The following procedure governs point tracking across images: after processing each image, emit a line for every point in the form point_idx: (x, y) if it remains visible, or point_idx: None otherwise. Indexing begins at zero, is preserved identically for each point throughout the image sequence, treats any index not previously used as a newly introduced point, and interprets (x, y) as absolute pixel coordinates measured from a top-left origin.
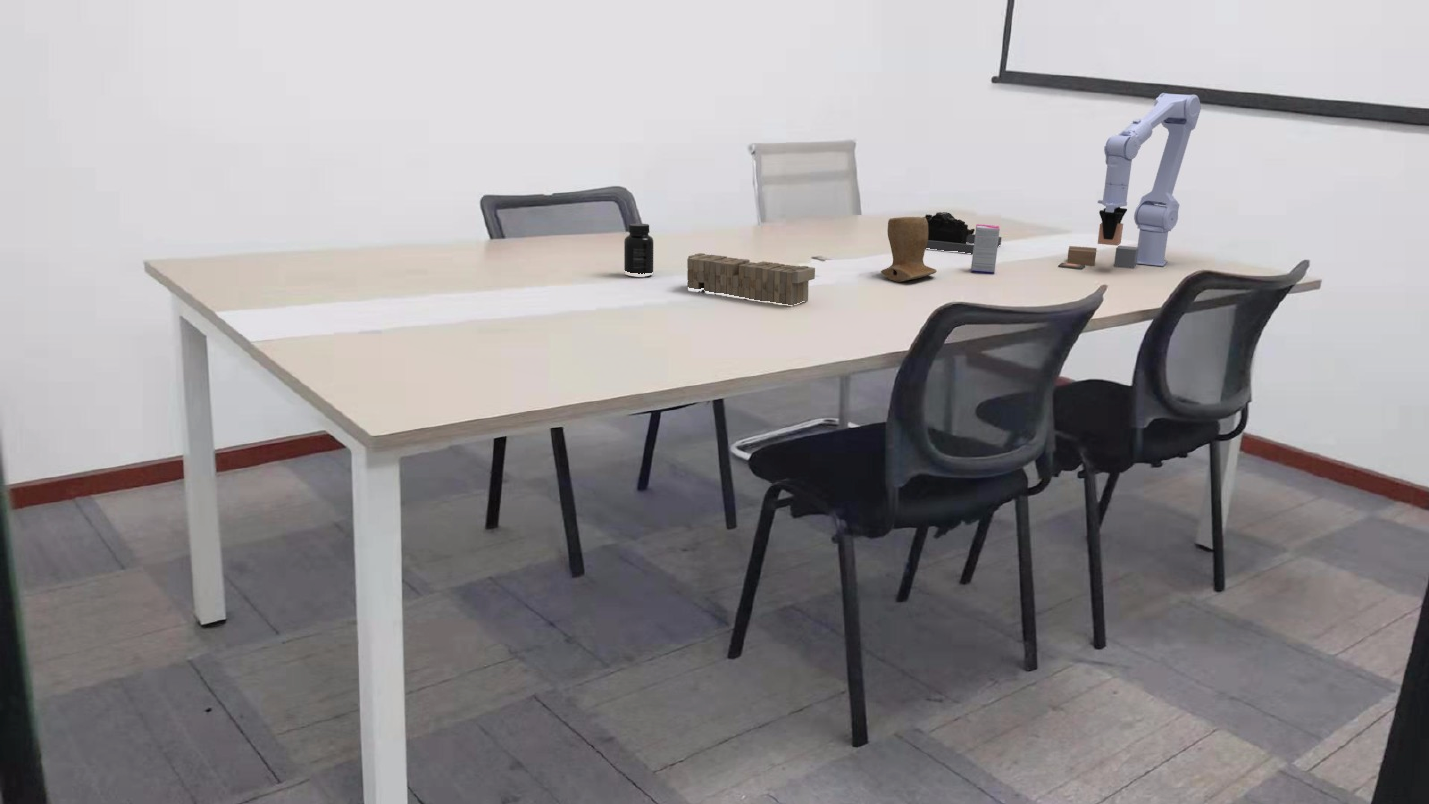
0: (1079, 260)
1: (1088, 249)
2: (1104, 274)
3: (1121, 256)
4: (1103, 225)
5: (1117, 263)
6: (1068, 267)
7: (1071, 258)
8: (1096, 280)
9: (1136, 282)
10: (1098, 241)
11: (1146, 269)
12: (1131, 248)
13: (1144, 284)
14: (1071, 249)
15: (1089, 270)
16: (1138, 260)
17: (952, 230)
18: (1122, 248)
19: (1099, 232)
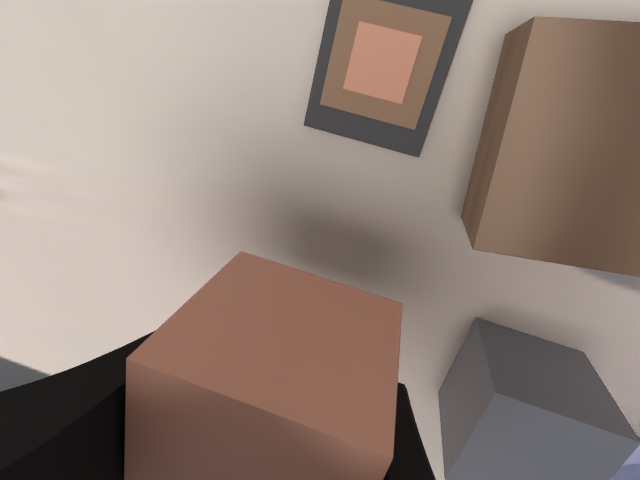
0: (490, 125)
1: (597, 208)
2: (218, 229)
3: (471, 384)
4: (69, 373)
5: (472, 342)
6: (324, 39)
7: (508, 62)
8: (52, 169)
9: (107, 320)
10: (231, 264)
11: (436, 438)
12: (506, 474)
13: (86, 338)
14: (569, 49)
15: (300, 168)
16: (624, 469)
17: None
18: (487, 425)
19: (187, 303)
